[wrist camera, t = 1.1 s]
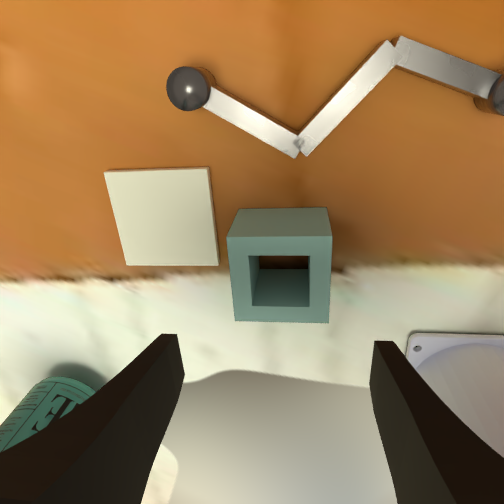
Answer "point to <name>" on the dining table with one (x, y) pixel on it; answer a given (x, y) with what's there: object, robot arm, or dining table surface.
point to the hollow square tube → (280, 280)
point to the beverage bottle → (42, 408)
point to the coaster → (165, 216)
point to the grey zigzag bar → (339, 92)
